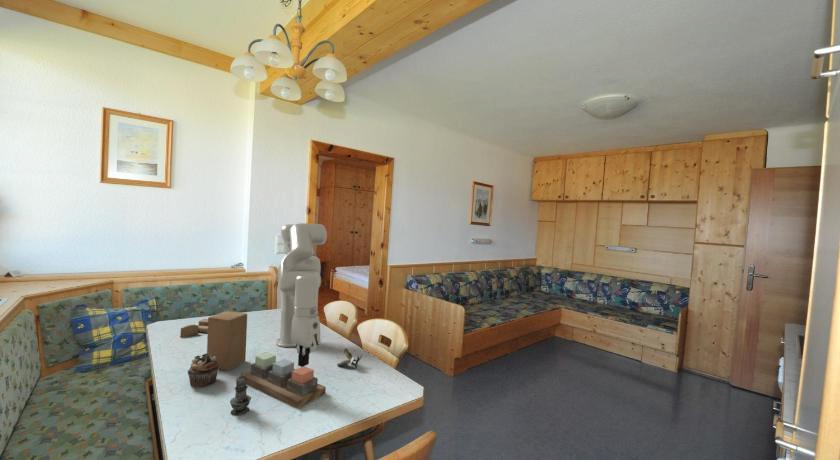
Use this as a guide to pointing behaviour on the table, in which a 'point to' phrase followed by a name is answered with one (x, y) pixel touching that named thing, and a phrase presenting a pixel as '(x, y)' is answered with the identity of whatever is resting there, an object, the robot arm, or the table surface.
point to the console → (284, 386)
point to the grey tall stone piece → (240, 397)
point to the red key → (302, 375)
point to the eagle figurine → (349, 359)
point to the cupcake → (203, 371)
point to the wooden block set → (195, 328)
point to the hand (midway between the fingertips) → (303, 365)
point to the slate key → (283, 367)
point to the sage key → (265, 360)
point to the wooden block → (227, 338)
